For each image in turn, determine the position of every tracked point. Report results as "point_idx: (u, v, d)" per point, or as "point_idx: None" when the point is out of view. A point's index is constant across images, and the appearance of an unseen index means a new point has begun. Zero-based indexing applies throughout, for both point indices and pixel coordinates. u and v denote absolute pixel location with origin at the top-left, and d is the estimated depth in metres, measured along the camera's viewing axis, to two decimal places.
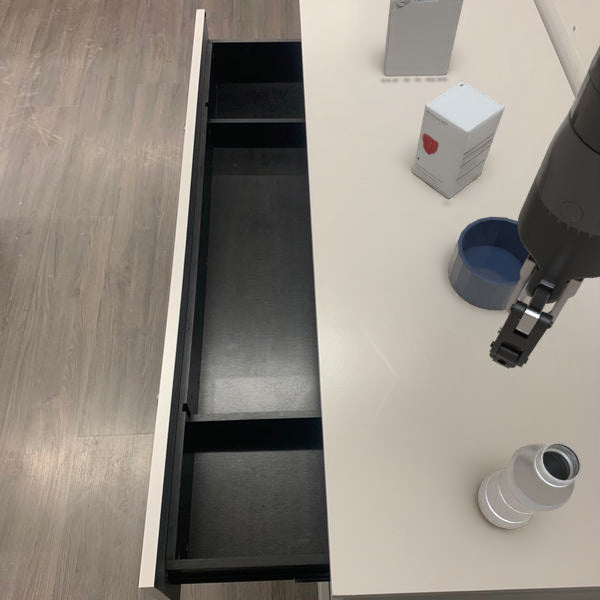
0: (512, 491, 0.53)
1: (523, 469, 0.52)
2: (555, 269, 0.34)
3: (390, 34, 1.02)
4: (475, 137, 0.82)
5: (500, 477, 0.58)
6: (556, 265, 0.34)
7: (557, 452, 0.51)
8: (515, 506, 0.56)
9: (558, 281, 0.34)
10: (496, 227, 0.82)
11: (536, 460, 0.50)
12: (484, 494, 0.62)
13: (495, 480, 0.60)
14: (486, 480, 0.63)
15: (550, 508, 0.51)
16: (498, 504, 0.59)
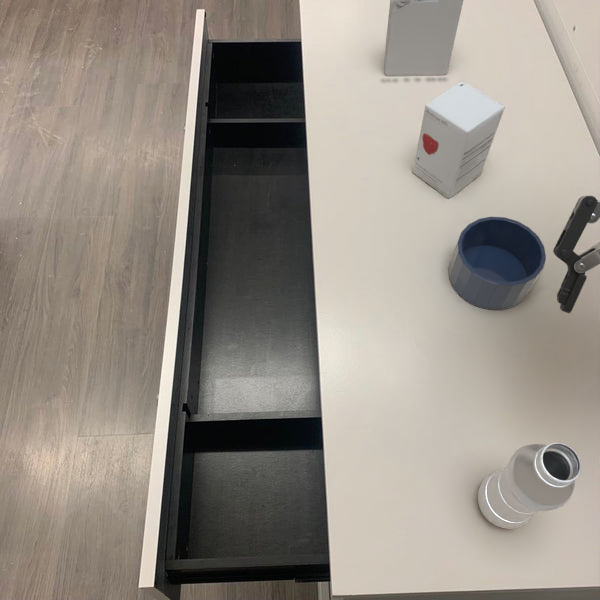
0: (512, 491, 0.53)
1: (523, 469, 0.52)
2: None
3: (390, 34, 1.02)
4: (475, 137, 0.82)
5: (500, 477, 0.58)
6: None
7: (557, 452, 0.51)
8: (515, 506, 0.56)
9: None
10: (496, 227, 0.82)
11: (536, 460, 0.50)
12: (484, 494, 0.62)
13: (495, 480, 0.60)
14: (486, 480, 0.63)
15: (550, 508, 0.51)
16: (498, 504, 0.59)
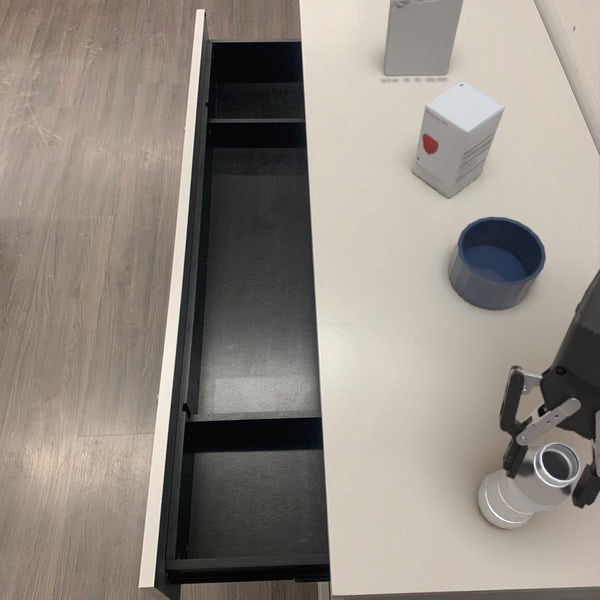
0: (511, 491, 0.53)
1: (523, 469, 0.52)
2: (556, 357, 0.49)
3: (390, 34, 1.02)
4: (475, 137, 0.82)
5: (500, 477, 0.58)
6: (557, 353, 0.49)
7: (556, 452, 0.51)
8: (515, 506, 0.56)
9: (552, 368, 0.48)
10: (496, 227, 0.82)
11: (535, 460, 0.50)
12: (484, 494, 0.62)
13: (495, 480, 0.60)
14: (486, 480, 0.63)
15: (549, 508, 0.51)
16: (498, 504, 0.59)
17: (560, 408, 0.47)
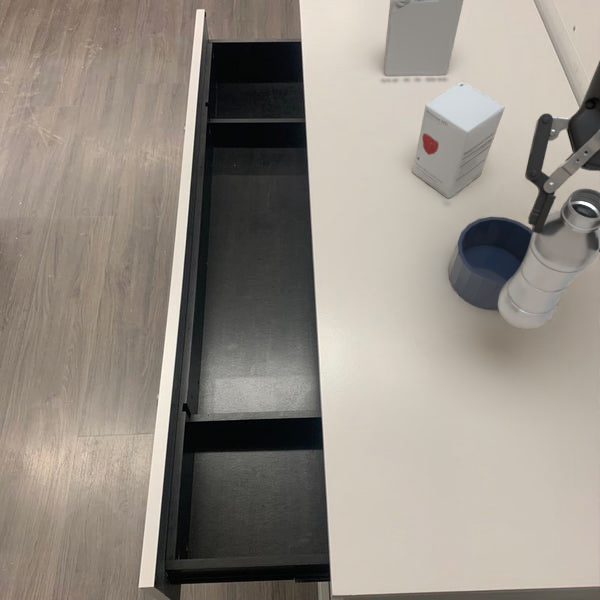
0: (537, 256, 0.52)
1: (549, 226, 0.51)
2: (585, 96, 0.48)
3: (390, 34, 1.02)
4: (475, 137, 0.82)
5: (523, 260, 0.57)
6: None
7: (584, 205, 0.50)
8: (539, 281, 0.55)
9: (581, 106, 0.47)
10: (496, 227, 0.82)
11: (563, 208, 0.49)
12: (505, 293, 0.62)
13: (517, 271, 0.59)
14: (507, 281, 0.63)
15: (577, 263, 0.50)
16: (520, 292, 0.58)
17: (590, 142, 0.47)
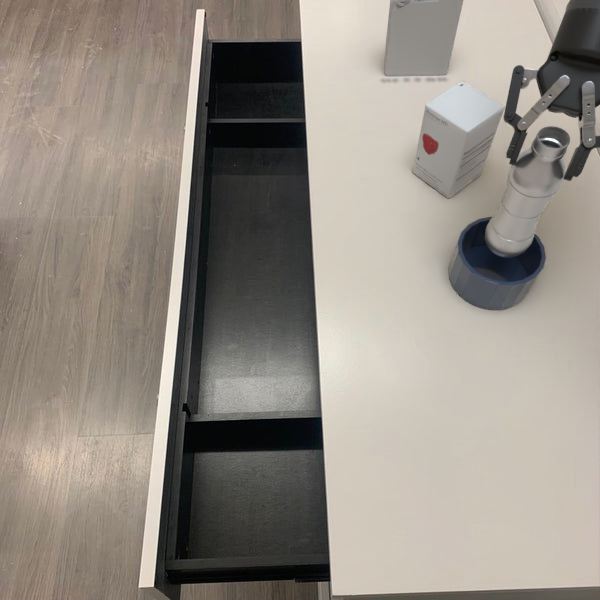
0: (514, 185, 0.64)
1: (523, 159, 0.62)
2: (550, 51, 0.59)
3: (390, 34, 1.02)
4: (475, 137, 0.82)
5: (504, 194, 0.69)
6: None
7: (551, 141, 0.62)
8: (516, 208, 0.66)
9: (547, 59, 0.59)
10: None
11: (533, 143, 0.61)
12: (490, 225, 0.73)
13: None
14: (492, 217, 0.74)
15: (545, 189, 0.62)
16: (502, 222, 0.70)
17: (553, 87, 0.58)
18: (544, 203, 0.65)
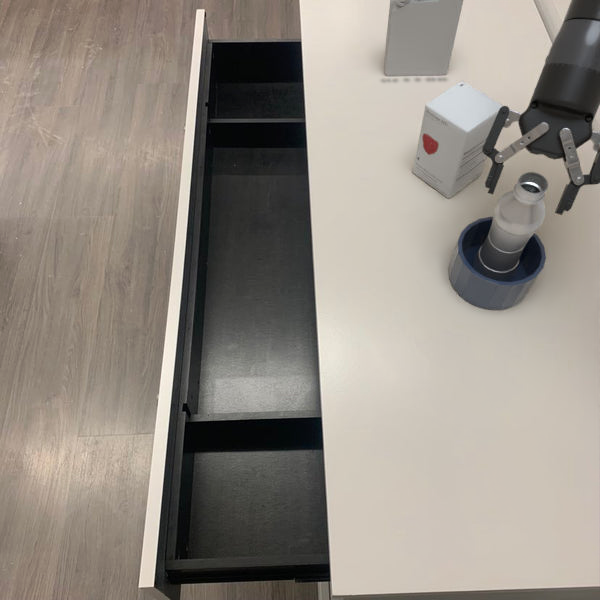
0: (498, 223, 0.70)
1: (506, 200, 0.69)
2: (531, 99, 0.65)
3: (390, 34, 1.02)
4: (474, 137, 0.82)
5: (490, 229, 0.75)
6: (532, 96, 0.65)
7: (531, 184, 0.68)
8: (501, 243, 0.73)
9: (528, 106, 0.64)
10: None
11: (515, 187, 0.67)
12: (478, 256, 0.79)
13: (486, 238, 0.77)
14: None
15: (526, 228, 0.68)
16: (488, 254, 0.76)
17: (534, 132, 0.64)
18: (526, 239, 0.71)
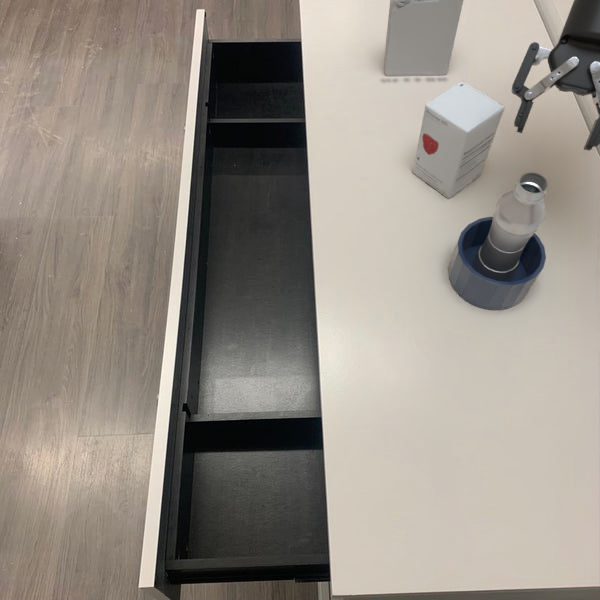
0: (498, 223, 0.70)
1: (506, 200, 0.69)
2: None
3: (390, 34, 1.02)
4: (475, 137, 0.82)
5: (490, 229, 0.75)
6: None
7: (531, 184, 0.68)
8: (501, 243, 0.73)
9: (558, 42, 0.66)
10: None
11: (515, 187, 0.67)
12: (478, 256, 0.79)
13: (486, 238, 0.77)
14: None
15: (526, 228, 0.68)
16: (488, 254, 0.76)
17: (564, 67, 0.65)
18: (526, 239, 0.71)
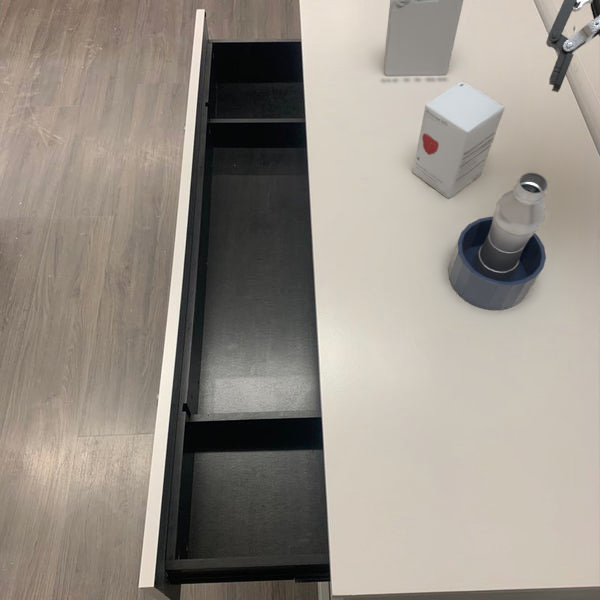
0: (498, 223, 0.70)
1: (506, 200, 0.69)
2: None
3: (390, 34, 1.02)
4: (475, 137, 0.82)
5: (490, 229, 0.75)
6: None
7: (531, 184, 0.68)
8: (501, 243, 0.73)
9: None
10: None
11: (515, 187, 0.67)
12: (478, 256, 0.79)
13: (486, 238, 0.77)
14: None
15: (526, 228, 0.68)
16: (488, 254, 0.76)
17: None
18: (526, 239, 0.71)
